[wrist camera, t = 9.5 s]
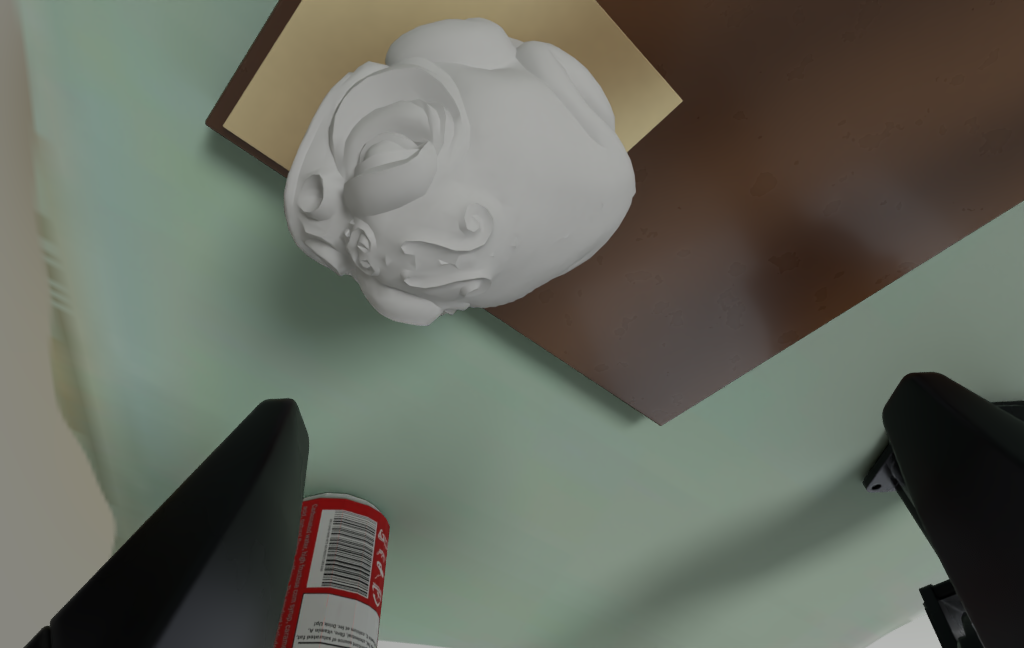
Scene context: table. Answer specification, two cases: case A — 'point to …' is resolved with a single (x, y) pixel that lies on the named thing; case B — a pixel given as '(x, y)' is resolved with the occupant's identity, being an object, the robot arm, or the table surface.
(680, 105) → the board
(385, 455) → the table surface
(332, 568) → the soda can
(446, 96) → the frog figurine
